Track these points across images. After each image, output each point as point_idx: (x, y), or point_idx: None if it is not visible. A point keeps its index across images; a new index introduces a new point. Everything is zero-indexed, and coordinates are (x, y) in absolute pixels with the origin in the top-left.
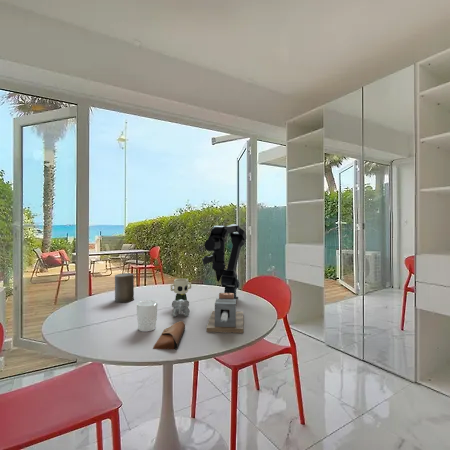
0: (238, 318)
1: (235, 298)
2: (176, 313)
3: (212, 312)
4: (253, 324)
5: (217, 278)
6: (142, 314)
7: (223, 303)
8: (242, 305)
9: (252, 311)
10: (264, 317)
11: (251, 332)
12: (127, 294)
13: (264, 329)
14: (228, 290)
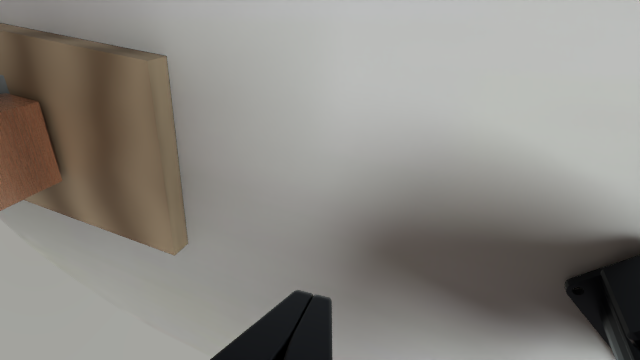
0: (70, 199)
1: (602, 335)
2: None
3: (113, 58)
4: (84, 240)
5: (244, 343)
6: None
7: None
8: (375, 305)
9: (250, 306)
10: (173, 313)
11: (13, 205)
12: None
13: (54, 257)
14: (638, 354)
